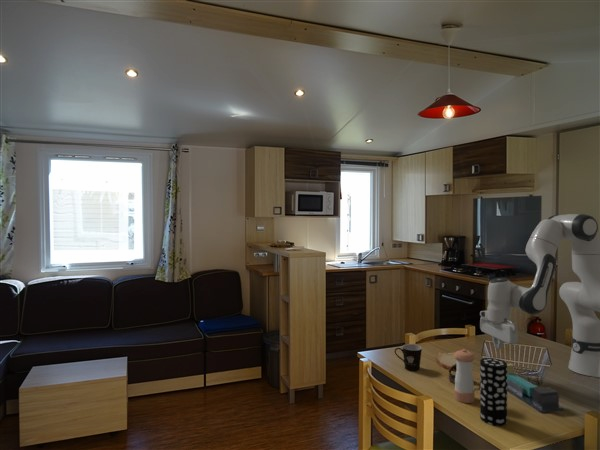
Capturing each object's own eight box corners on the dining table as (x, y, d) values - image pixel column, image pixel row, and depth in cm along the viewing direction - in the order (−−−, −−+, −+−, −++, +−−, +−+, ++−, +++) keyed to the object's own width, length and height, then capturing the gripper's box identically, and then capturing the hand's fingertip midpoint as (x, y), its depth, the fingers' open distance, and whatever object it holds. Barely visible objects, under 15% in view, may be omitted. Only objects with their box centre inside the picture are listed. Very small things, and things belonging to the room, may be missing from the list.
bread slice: (457, 374, 176) (457, 365, 176) (423, 362, 191) (423, 354, 191) (479, 364, 187) (479, 356, 187) (445, 354, 202) (445, 346, 202)
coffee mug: (425, 369, 181) (425, 347, 181) (414, 373, 176) (413, 351, 176) (405, 361, 191) (405, 341, 190) (393, 366, 186) (393, 345, 185)
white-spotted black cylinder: (503, 428, 131) (503, 368, 130) (477, 420, 136) (477, 363, 136) (509, 418, 137) (509, 361, 136) (484, 411, 142) (484, 356, 142)
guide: (516, 382, 166) (516, 367, 166) (563, 410, 142) (563, 393, 142) (497, 384, 164) (497, 369, 164) (541, 412, 141) (541, 395, 141)
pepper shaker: (455, 393, 157) (455, 345, 157) (475, 397, 153) (475, 348, 153) (452, 400, 151) (452, 350, 150) (473, 405, 147) (473, 353, 147)
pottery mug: (478, 387, 163) (471, 372, 161) (457, 396, 165) (449, 380, 163) (468, 369, 175) (461, 354, 173) (448, 377, 176) (441, 362, 174)
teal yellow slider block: (510, 379, 165) (510, 363, 165) (537, 396, 151) (537, 377, 150) (503, 380, 165) (503, 364, 165) (529, 396, 150) (529, 378, 150)
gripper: (522, 322, 160) (522, 356, 160) (490, 310, 180) (489, 340, 180) (508, 323, 159) (507, 357, 159) (477, 310, 179) (477, 341, 179)
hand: (497, 348), depth 170 cm, fingers closed
